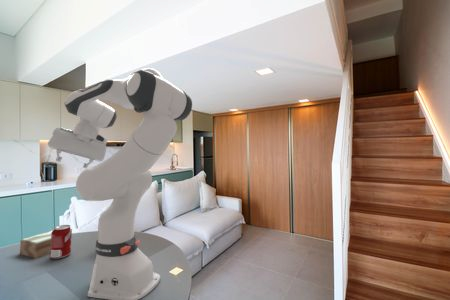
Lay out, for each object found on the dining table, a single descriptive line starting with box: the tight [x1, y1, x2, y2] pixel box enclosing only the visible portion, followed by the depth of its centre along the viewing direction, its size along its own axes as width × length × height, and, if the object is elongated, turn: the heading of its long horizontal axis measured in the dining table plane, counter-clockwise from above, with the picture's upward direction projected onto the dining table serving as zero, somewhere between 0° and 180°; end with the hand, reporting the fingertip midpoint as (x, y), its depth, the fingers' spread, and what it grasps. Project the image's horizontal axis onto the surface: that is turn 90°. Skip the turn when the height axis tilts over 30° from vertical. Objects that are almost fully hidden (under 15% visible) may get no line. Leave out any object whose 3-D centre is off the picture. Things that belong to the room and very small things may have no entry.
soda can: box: [49, 224, 73, 260], centre depth 88 cm, size 7×7×12 cm
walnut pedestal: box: [19, 231, 52, 259], centre depth 92 cm, size 10×10×6 cm
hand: (71, 164), depth 86 cm, fingers open, 8 cm apart
